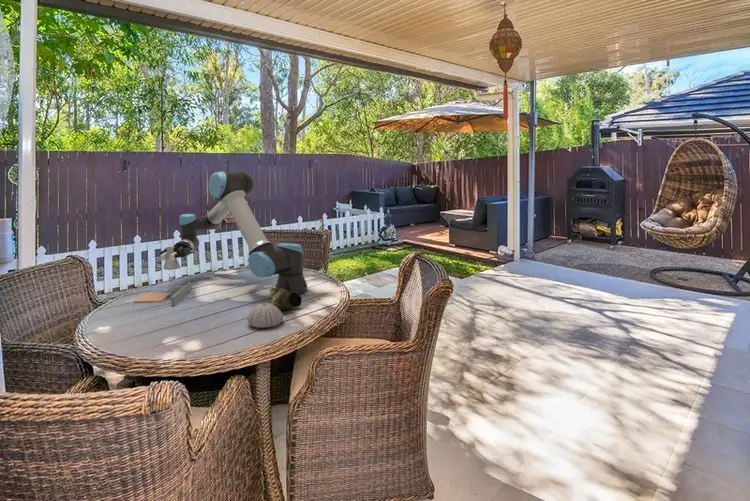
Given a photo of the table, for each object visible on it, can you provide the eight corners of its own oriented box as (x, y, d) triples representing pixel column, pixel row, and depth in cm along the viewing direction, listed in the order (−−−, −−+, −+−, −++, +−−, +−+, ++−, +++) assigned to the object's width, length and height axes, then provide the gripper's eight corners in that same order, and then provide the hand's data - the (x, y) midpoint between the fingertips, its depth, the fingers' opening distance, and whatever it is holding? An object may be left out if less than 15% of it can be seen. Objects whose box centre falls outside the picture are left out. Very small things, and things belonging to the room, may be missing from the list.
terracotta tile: (144, 295, 208) (144, 293, 208) (171, 294, 210) (170, 292, 209) (133, 303, 196) (133, 301, 196) (162, 301, 198) (161, 300, 198)
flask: (175, 265, 209) (173, 245, 207) (183, 268, 205) (182, 246, 203) (160, 268, 203) (158, 247, 202) (168, 271, 199) (166, 249, 197)
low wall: (189, 289, 217) (188, 281, 216) (191, 289, 217) (191, 281, 216) (171, 306, 192) (171, 297, 191) (174, 306, 192) (173, 297, 191)
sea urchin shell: (250, 319, 175) (249, 299, 174) (285, 317, 177) (284, 298, 175) (244, 331, 162) (243, 310, 161) (282, 329, 164) (281, 308, 162)
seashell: (293, 315, 179) (292, 291, 177) (267, 314, 181) (266, 290, 179) (303, 307, 189) (302, 284, 187) (277, 306, 191) (276, 283, 189)
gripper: (201, 255, 222) (186, 265, 199) (166, 255, 221) (147, 266, 198) (200, 240, 221) (185, 249, 198) (165, 240, 219) (146, 250, 196)
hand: (166, 258), depth 198 cm, fingers closed on flask, 3 cm apart
